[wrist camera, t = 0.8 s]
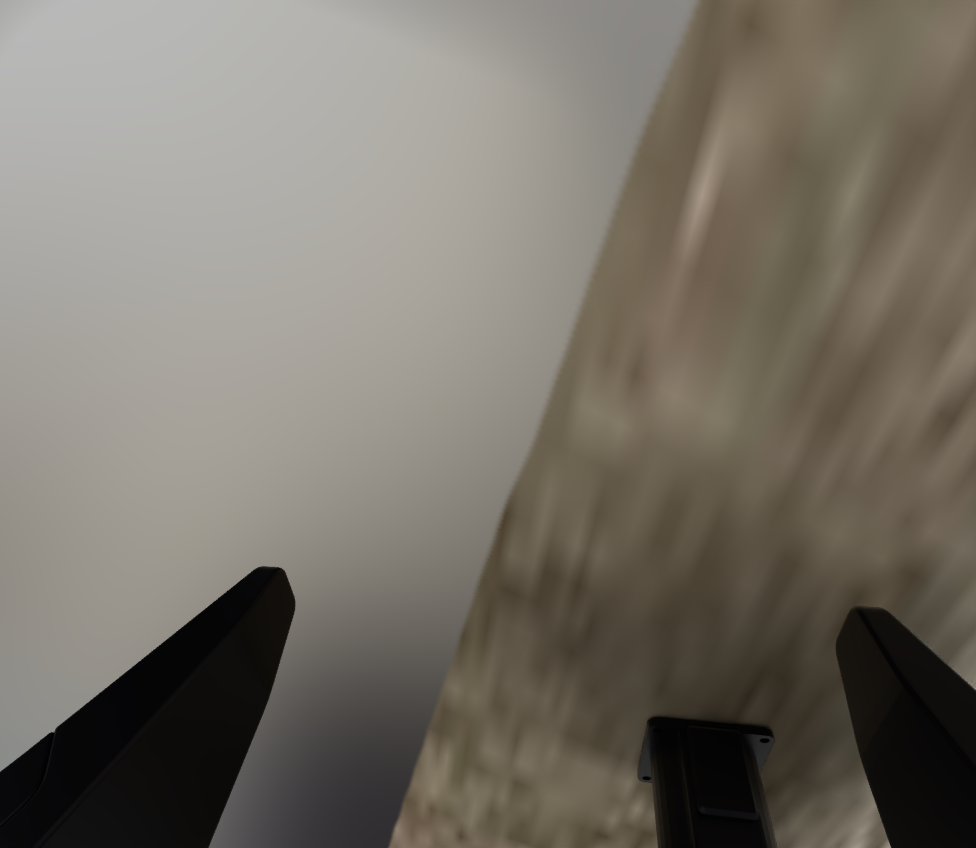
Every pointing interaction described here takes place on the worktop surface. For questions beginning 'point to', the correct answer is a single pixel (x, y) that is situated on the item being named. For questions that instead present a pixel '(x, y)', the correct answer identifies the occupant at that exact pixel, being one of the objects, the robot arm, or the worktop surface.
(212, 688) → the robot arm
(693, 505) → the worktop surface
